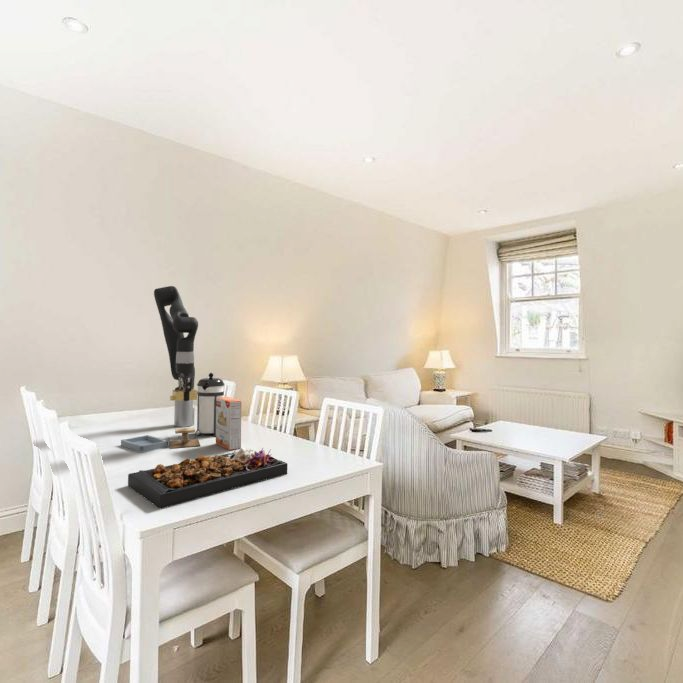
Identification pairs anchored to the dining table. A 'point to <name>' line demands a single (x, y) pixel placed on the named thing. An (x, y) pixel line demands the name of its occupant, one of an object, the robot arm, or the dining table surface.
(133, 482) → the food platter
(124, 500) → the dining table surface
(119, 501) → the dining table surface
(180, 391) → the gold rectangular hollow block
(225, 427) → the cracker box
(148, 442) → the tray
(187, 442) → the brown piece
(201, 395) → the coffee press
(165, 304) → the robot arm
